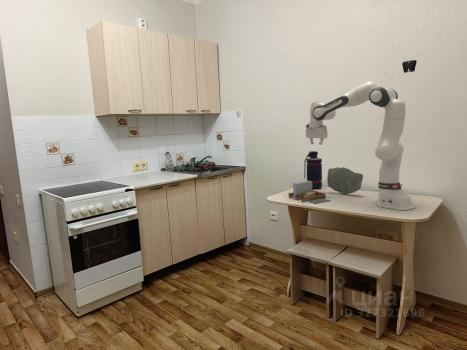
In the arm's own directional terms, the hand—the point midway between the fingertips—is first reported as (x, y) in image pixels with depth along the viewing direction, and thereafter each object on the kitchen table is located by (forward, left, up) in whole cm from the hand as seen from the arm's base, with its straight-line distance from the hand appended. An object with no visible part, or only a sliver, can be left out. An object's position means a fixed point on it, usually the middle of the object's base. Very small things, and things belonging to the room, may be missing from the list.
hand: (316, 144), depth 237 cm
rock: (-13, -15, -37) cm, 42 cm away
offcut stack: (-9, +14, -37) cm, 41 cm away
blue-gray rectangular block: (-2, +14, -37) cm, 40 cm away
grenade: (+20, -13, -37) cm, 44 cm away
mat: (-19, +13, -37) cm, 44 cm away
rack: (-6, +14, -37) cm, 40 cm away
